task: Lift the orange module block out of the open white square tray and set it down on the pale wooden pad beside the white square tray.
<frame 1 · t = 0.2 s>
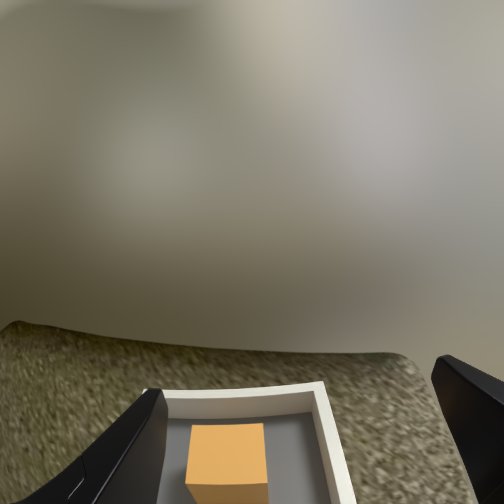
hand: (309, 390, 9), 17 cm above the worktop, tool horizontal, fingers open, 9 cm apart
module: (234, 482, 19), resting on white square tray
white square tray: (235, 485, 19), on the worktop
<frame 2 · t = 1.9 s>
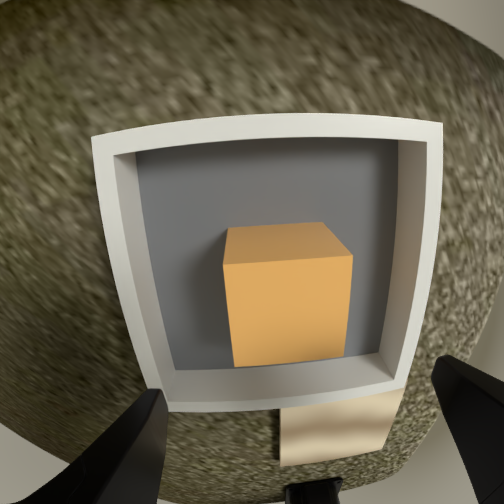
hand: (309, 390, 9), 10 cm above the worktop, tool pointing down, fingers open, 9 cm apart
module: (277, 268, 17), resting on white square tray
pad: (337, 422, 23), on the worktop
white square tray: (276, 265, 18), on the worktop
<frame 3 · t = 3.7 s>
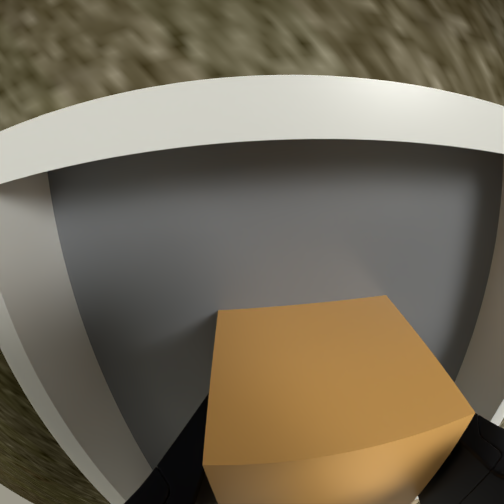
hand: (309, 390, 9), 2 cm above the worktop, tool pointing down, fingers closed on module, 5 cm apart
module: (304, 369, 10), resting on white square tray, touching gripper
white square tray: (301, 359, 10), on the worktop
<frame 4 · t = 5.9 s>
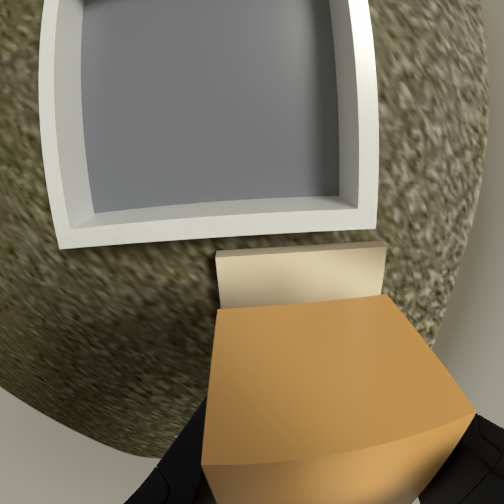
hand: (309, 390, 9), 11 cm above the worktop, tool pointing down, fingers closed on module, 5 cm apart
module: (303, 368, 10), point 10 cm above the worktop, touching gripper
pad: (301, 317, 20), on the worktop
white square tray: (203, 74, 14), on the worktop
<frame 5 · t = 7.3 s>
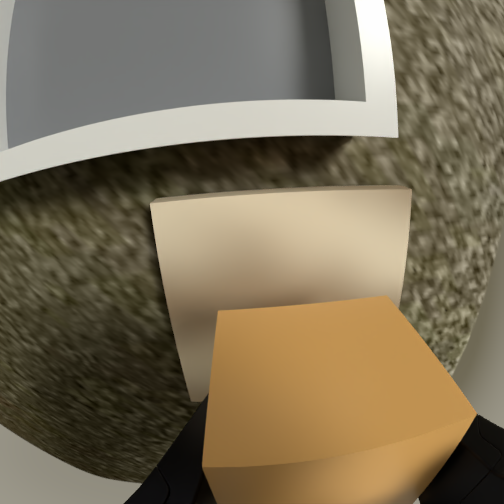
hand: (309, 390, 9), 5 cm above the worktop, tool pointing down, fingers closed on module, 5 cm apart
module: (304, 369, 10), point 4 cm above the worktop, touching gripper
pad: (287, 302, 14), on the worktop
when the fingers open (3 cm above the worktop, at t = 8.5 s): module drops 1 cm, resting on pad.
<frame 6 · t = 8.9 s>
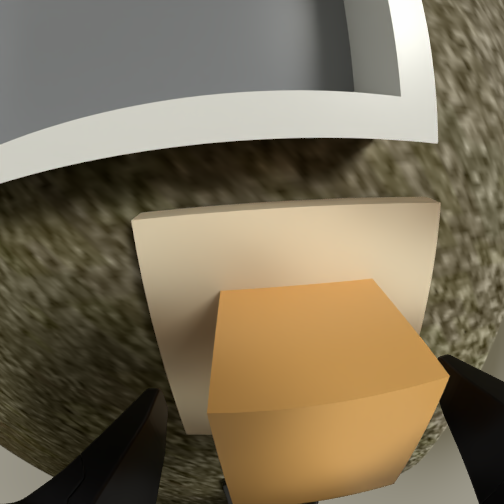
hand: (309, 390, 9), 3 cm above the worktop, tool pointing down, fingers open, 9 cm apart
module: (298, 347, 11), point 1 cm above the worktop, touching pad
pad: (294, 331, 12), on the worktop
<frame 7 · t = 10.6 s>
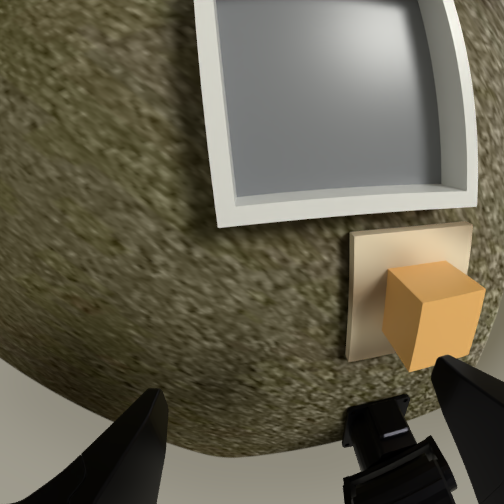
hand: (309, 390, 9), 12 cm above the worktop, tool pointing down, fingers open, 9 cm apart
module: (414, 296, 20), point 1 cm above the worktop, touching pad
pad: (409, 290, 21), on the worktop
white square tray: (338, 77, 17), on the worktop
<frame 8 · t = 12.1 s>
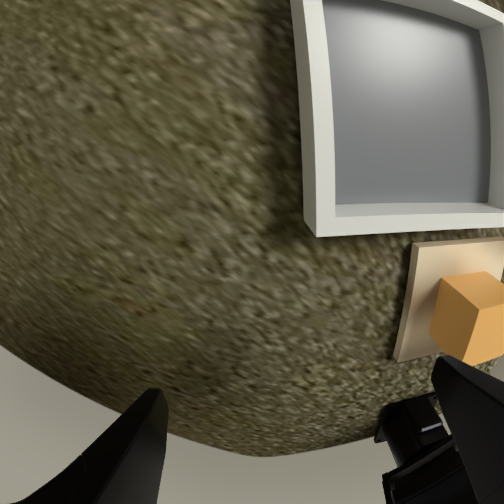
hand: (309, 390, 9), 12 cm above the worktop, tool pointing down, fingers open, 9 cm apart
module: (458, 302, 21), point 1 cm above the worktop, touching pad
pad: (452, 296, 22), on the worktop
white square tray: (415, 99, 17), on the worktop
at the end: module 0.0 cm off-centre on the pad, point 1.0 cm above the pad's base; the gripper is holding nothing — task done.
